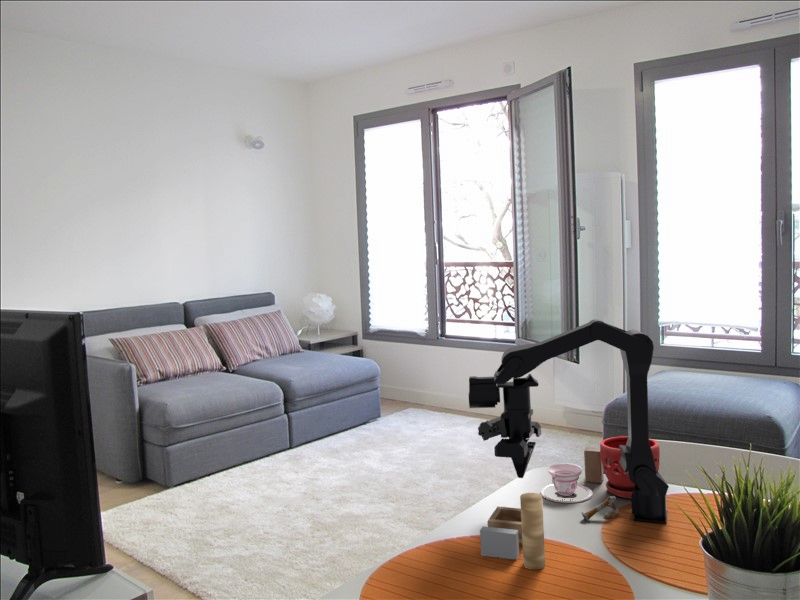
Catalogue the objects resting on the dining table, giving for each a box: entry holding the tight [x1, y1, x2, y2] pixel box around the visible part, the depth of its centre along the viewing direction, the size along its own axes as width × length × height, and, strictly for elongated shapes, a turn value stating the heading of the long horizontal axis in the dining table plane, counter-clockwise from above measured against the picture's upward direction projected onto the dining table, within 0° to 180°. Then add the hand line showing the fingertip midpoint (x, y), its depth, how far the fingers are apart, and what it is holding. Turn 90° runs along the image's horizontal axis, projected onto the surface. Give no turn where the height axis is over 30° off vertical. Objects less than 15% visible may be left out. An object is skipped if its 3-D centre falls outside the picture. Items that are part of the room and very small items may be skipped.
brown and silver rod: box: [580, 495, 620, 523], centre depth 147 cm, size 2×8×4 cm, turn 101°
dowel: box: [519, 492, 546, 570], centre depth 127 cm, size 4×4×13 cm
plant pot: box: [599, 435, 661, 499], centre depth 160 cm, size 13×13×12 cm
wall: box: [479, 526, 520, 561], centre depth 132 cm, size 7×2×5 cm, turn 67°
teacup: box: [539, 462, 594, 504], centre depth 162 cm, size 12×12×6 cm
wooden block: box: [583, 446, 605, 484], centre depth 169 cm, size 4×4×8 cm
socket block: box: [487, 506, 523, 545], centre depth 141 cm, size 8×8×4 cm
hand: (520, 477), depth 149 cm, fingers closed
